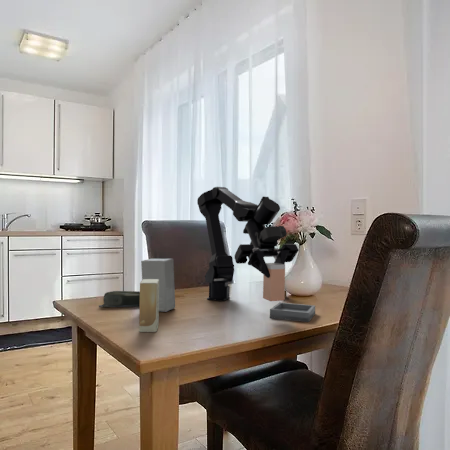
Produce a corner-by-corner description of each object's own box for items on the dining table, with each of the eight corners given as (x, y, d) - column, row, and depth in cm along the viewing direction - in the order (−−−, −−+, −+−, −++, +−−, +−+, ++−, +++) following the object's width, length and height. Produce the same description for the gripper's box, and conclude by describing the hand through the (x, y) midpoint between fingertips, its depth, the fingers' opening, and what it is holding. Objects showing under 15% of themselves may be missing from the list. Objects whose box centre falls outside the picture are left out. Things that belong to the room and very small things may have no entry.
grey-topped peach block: (270, 301, 106) (271, 265, 105) (263, 298, 110) (263, 263, 109) (284, 300, 107) (285, 264, 107) (276, 297, 111) (277, 262, 111)
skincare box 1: (175, 308, 121) (176, 258, 121) (164, 313, 114) (165, 260, 114) (151, 306, 124) (152, 257, 124) (140, 310, 117) (140, 258, 117)
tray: (269, 318, 110) (270, 309, 110) (279, 310, 120) (279, 302, 120) (308, 322, 106) (308, 313, 106) (315, 313, 116) (315, 305, 116)
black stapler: (147, 290, 127) (99, 290, 123) (147, 291, 124) (99, 292, 120) (146, 305, 127) (99, 306, 123) (147, 307, 124) (98, 308, 120)
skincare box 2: (141, 325, 100) (142, 278, 100) (158, 325, 100) (159, 278, 100) (138, 332, 93) (139, 282, 93) (156, 332, 94) (157, 282, 94)
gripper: (239, 215, 108) (256, 259, 98) (295, 217, 115) (317, 257, 105) (227, 242, 116) (242, 284, 106) (281, 241, 123) (300, 281, 113)
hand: (276, 276), depth 107 cm, fingers closed on grey-topped peach block, 4 cm apart
